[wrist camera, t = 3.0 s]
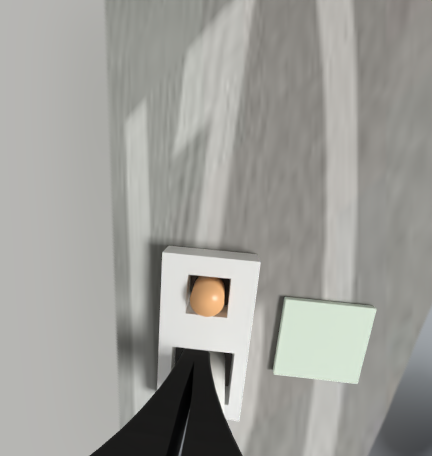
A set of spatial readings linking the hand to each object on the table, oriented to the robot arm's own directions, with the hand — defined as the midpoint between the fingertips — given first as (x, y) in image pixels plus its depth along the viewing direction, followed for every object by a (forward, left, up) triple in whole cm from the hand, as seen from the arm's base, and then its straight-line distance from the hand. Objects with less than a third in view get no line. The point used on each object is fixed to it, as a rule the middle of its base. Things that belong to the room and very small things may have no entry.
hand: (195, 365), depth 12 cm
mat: (+5, -11, -9) cm, 15 cm away
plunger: (0, 0, -9) cm, 9 cm away
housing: (-3, -3, -9) cm, 10 cm away
